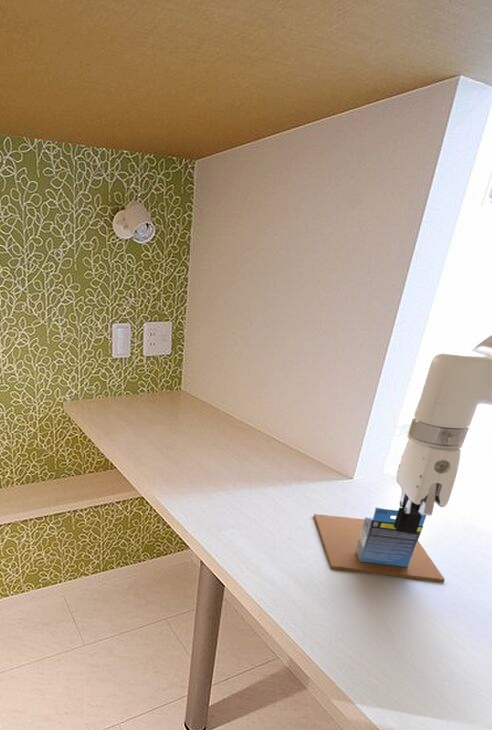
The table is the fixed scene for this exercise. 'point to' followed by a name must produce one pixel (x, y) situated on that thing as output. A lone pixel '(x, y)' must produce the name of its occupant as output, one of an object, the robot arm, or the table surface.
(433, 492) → the robot arm
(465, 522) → the table surface
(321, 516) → the cork mat
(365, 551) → the label tape box
